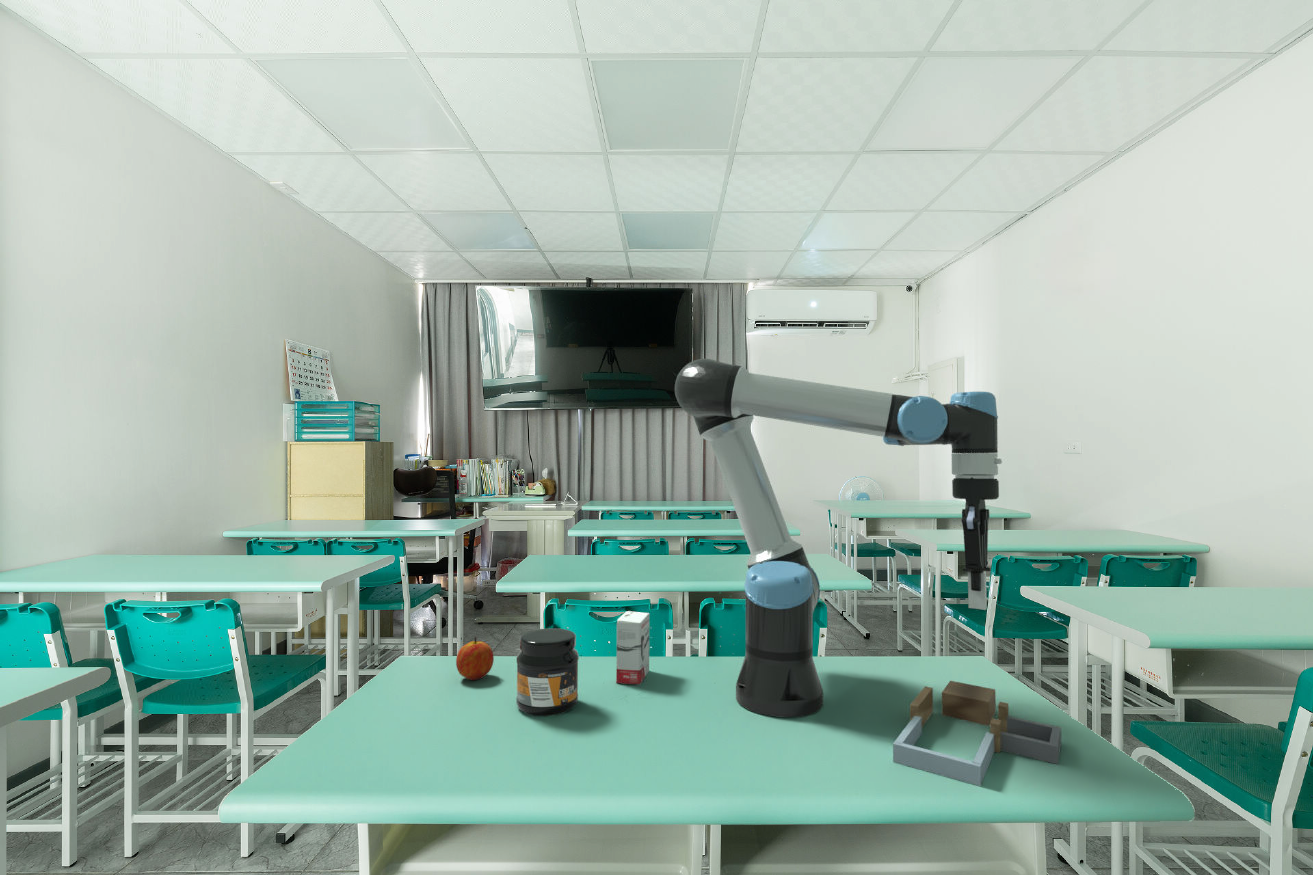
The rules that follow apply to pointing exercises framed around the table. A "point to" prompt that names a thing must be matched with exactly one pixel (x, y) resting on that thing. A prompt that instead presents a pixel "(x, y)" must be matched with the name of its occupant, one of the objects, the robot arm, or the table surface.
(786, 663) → the robot arm
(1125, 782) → the table surface
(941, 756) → the dock
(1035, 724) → the trap pit
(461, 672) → the fruit
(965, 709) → the block
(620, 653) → the ink box
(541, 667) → the supplement container
